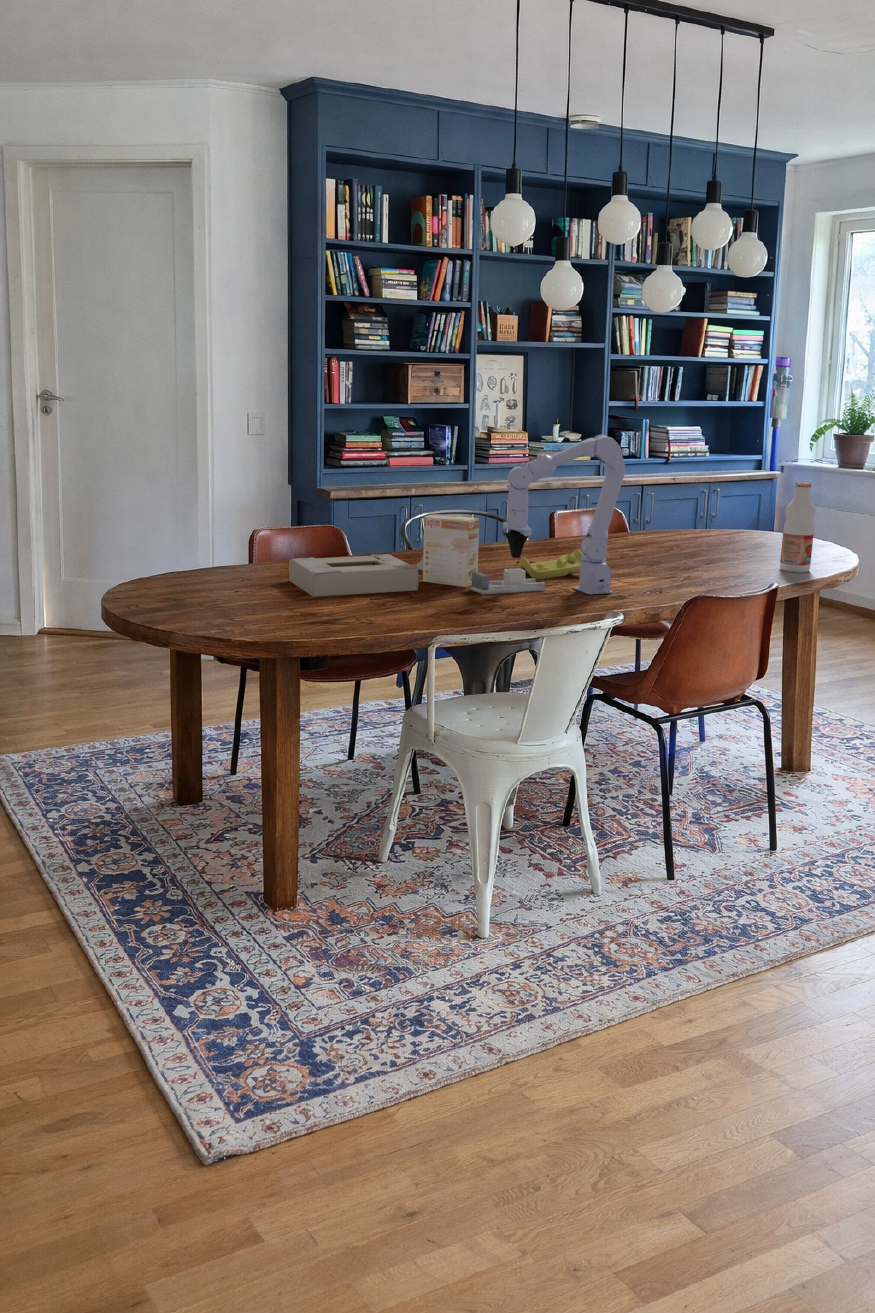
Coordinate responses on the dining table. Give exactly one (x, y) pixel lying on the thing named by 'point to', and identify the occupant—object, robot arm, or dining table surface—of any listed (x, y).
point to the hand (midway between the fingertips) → (515, 557)
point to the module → (514, 576)
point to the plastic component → (553, 566)
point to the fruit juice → (798, 531)
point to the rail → (495, 587)
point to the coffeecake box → (450, 549)
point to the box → (353, 575)
